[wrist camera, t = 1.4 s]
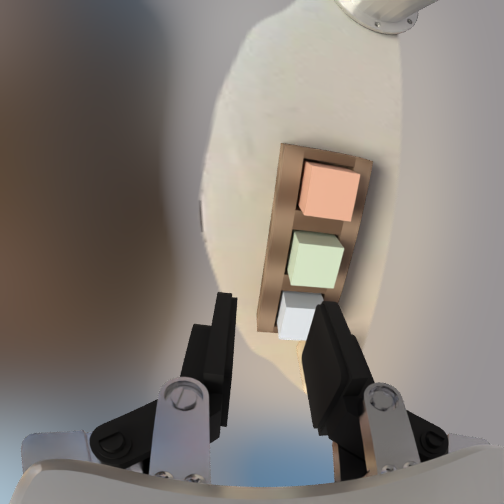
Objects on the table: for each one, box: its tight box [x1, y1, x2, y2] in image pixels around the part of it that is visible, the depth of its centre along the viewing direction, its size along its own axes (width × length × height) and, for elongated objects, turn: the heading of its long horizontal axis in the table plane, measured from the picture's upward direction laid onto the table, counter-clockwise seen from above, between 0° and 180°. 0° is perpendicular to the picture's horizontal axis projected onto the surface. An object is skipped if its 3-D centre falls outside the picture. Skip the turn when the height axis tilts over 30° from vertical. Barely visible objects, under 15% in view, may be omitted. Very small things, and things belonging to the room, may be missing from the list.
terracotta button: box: [297, 161, 360, 222], centre depth 29 cm, size 5×5×4 cm
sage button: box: [286, 229, 344, 288], centre depth 32 cm, size 5×5×4 cm
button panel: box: [257, 143, 373, 333], centre depth 34 cm, size 24×10×4 cm, turn 174°
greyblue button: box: [276, 290, 324, 341], centre depth 35 cm, size 5×5×4 cm
